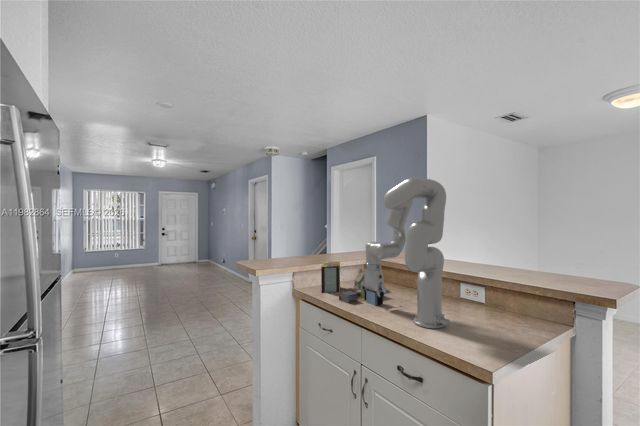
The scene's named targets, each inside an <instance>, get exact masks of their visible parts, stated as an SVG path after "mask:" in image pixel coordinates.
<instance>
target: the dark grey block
mask: <svg viewBox="0 0 640 426" xmlns="http://www.w3.org/2000/svg"><path fill="white" fill-rule="evenodd" d="M340 296H341V302H343V301H344V302H343V303H345V302H346V303H345V304H348V303H352V302H357V301H358V293H357V292H354V291H352V290H348V291H342V292H340Z"/></svg>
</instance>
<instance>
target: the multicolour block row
mask: <svg viewBox="0 0 640 426" xmlns="http://www.w3.org/2000/svg"><path fill="white" fill-rule="evenodd" d="M356 293H358V301H357V302H352V303H346V302H344V301H341V295H339V296H338V301H341V302H343V303H345V304H348V305H353V304H357V303H362V302H366V300H365V298H364V297H361V291H358V292H356ZM384 297H385V295H384V296H383V298H384Z"/></svg>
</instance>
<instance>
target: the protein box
mask: <svg viewBox="0 0 640 426" xmlns="http://www.w3.org/2000/svg"><path fill="white" fill-rule="evenodd" d="M320 271H321V272H320V273H321V294H325V293H340V290H341V262H339V261H333V262H332V261H324V262H323V263H322V265H321V266H320Z"/></svg>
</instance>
